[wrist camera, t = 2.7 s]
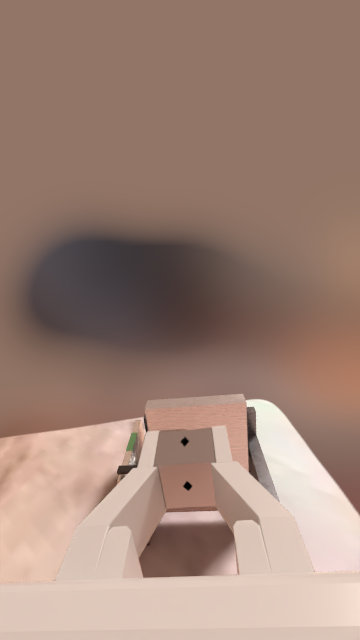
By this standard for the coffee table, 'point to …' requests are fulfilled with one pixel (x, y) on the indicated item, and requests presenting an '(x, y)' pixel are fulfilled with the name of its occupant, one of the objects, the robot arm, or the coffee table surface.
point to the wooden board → (201, 425)
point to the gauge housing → (254, 452)
